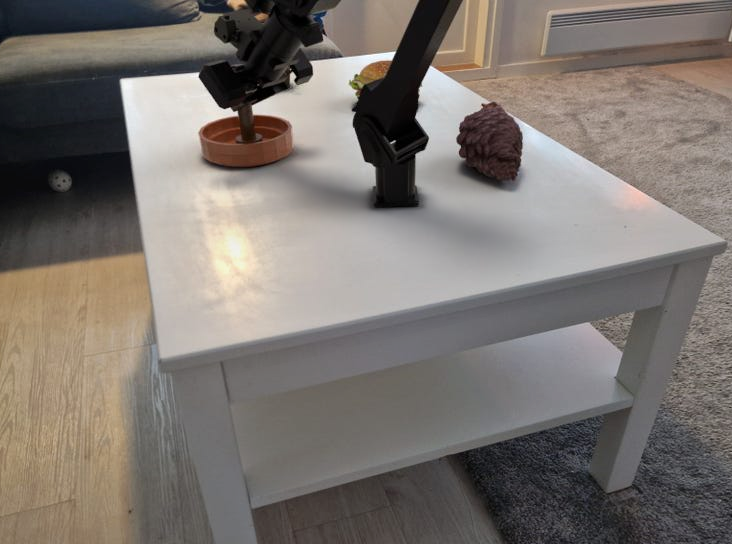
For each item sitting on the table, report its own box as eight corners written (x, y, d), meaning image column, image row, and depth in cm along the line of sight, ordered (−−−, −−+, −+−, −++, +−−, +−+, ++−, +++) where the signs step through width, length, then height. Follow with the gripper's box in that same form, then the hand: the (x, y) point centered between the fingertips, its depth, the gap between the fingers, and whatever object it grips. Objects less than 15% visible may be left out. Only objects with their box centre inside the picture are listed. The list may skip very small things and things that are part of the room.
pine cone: (548, 184, 97) (529, 136, 89) (488, 216, 100) (465, 172, 92) (511, 117, 107) (491, 69, 100) (457, 147, 110) (434, 103, 102)
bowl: (290, 168, 104) (287, 143, 101) (195, 170, 103) (190, 146, 101) (297, 136, 116) (295, 113, 113) (212, 138, 115) (208, 115, 113)
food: (341, 99, 133) (339, 58, 128) (405, 91, 137) (405, 51, 132) (363, 119, 123) (362, 75, 118) (431, 110, 126) (432, 66, 122)
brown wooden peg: (246, 156, 105) (233, 71, 97) (232, 149, 108) (218, 66, 100) (269, 149, 107) (258, 65, 99) (254, 142, 110) (242, 60, 102)
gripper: (292, -18, 97) (252, 53, 109) (193, 1, 85) (161, 77, 98) (335, 46, 98) (290, 108, 110) (242, 73, 86) (204, 139, 99)
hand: (238, 107), depth 104 cm, fingers closed on brown wooden peg, 2 cm apart
